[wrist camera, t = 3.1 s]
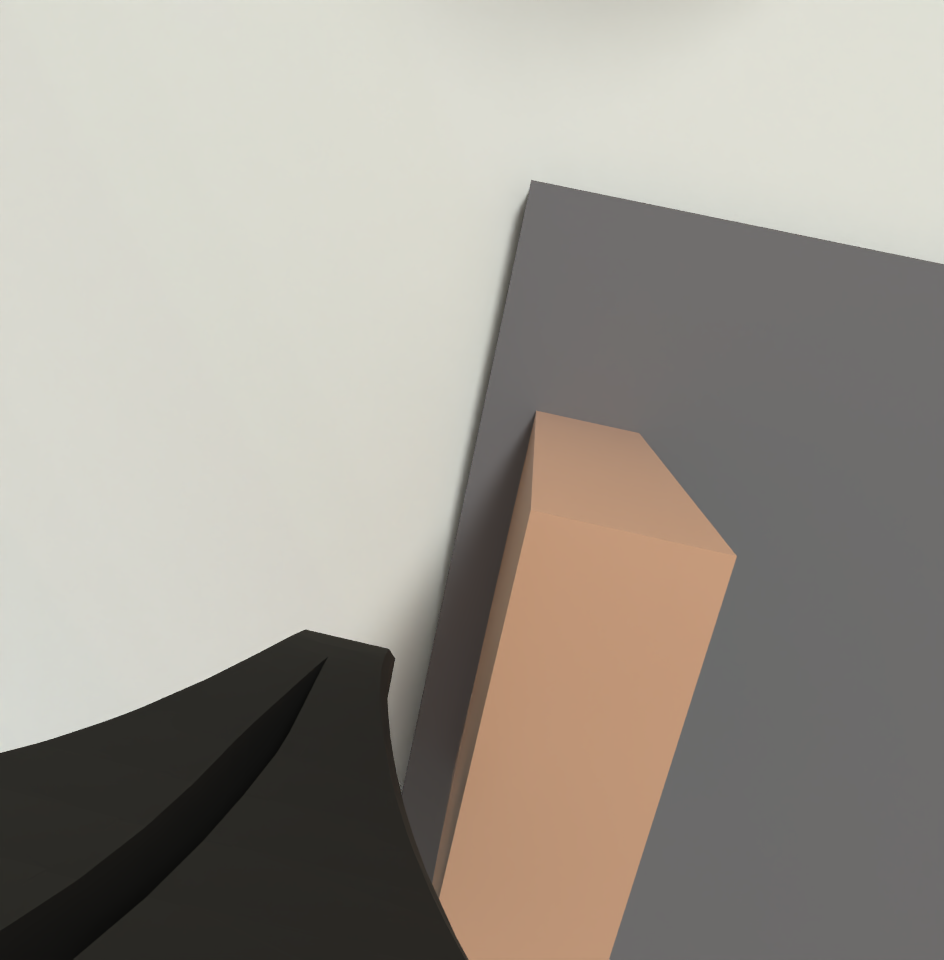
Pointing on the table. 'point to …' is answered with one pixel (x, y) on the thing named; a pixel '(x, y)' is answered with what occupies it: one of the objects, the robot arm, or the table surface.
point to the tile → (576, 695)
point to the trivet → (744, 564)
